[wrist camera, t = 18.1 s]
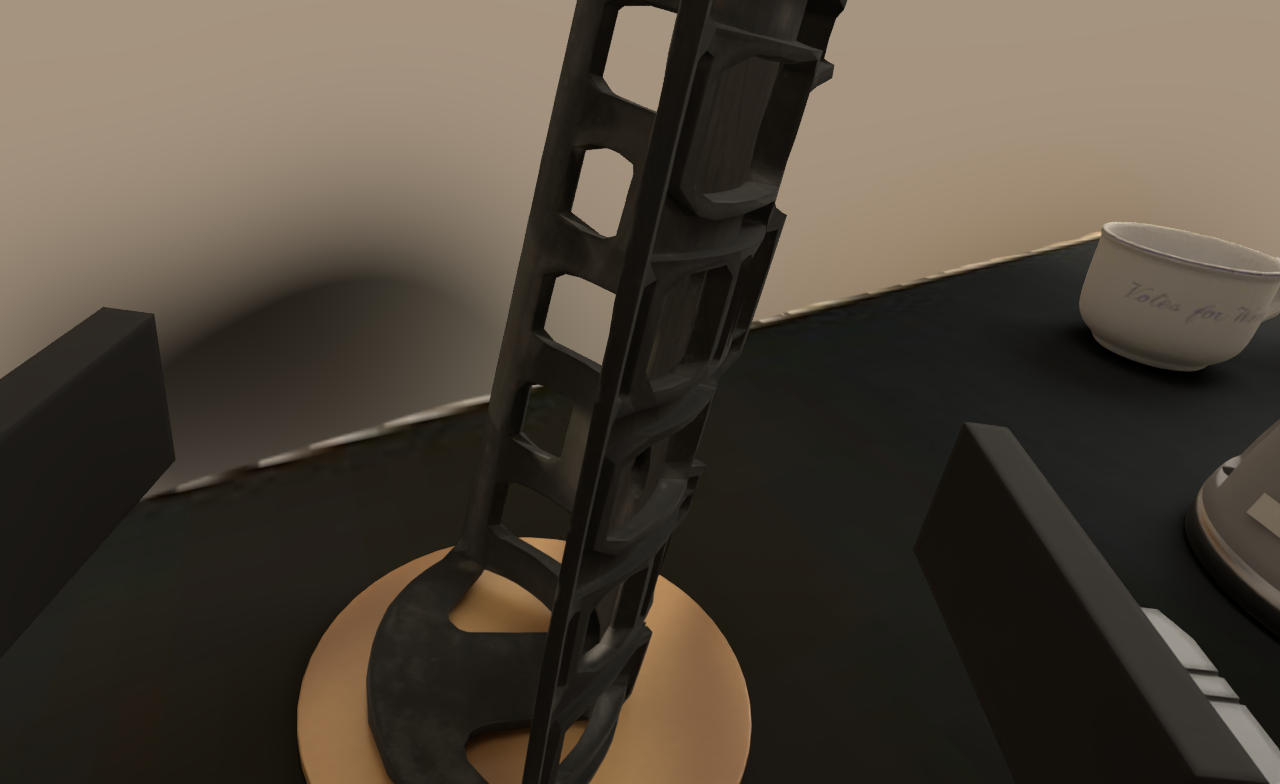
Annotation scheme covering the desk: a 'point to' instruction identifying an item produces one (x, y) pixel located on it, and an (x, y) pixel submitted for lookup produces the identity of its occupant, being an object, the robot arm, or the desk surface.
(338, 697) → the cork mat
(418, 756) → the holder
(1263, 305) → the teacup
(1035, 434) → the desk surface
